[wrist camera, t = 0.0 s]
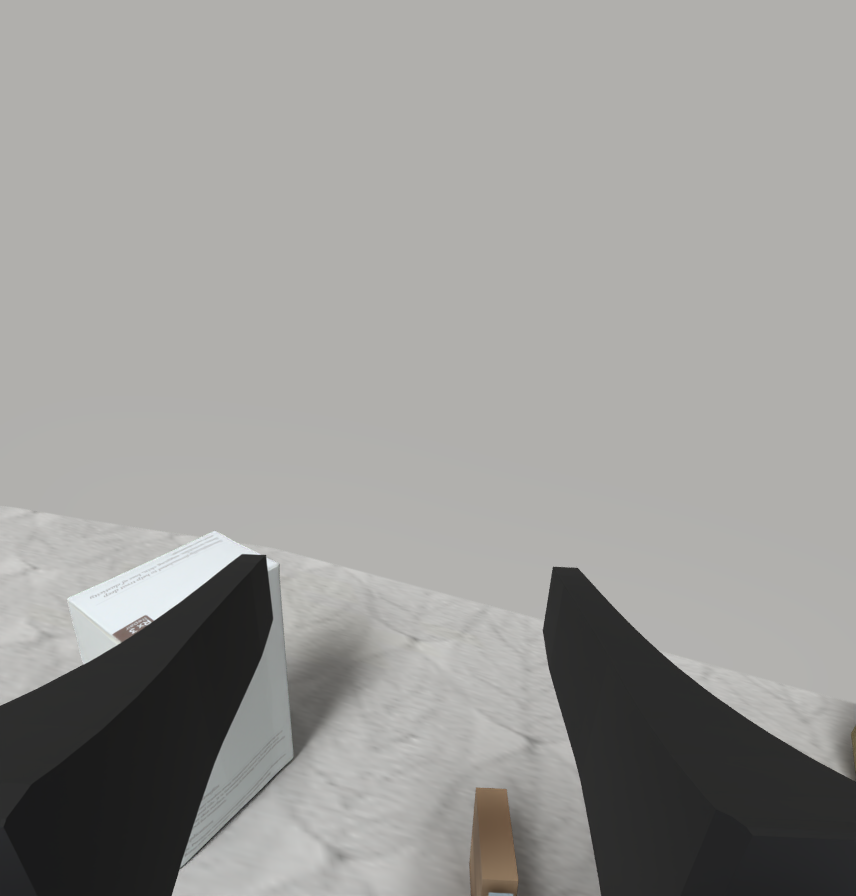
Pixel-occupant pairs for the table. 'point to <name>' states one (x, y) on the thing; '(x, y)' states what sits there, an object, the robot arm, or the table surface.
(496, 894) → the door
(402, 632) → the table surface
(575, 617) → the robot arm
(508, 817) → the door frame
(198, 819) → the skincare box
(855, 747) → the squeeze bottle
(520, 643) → the table surface
